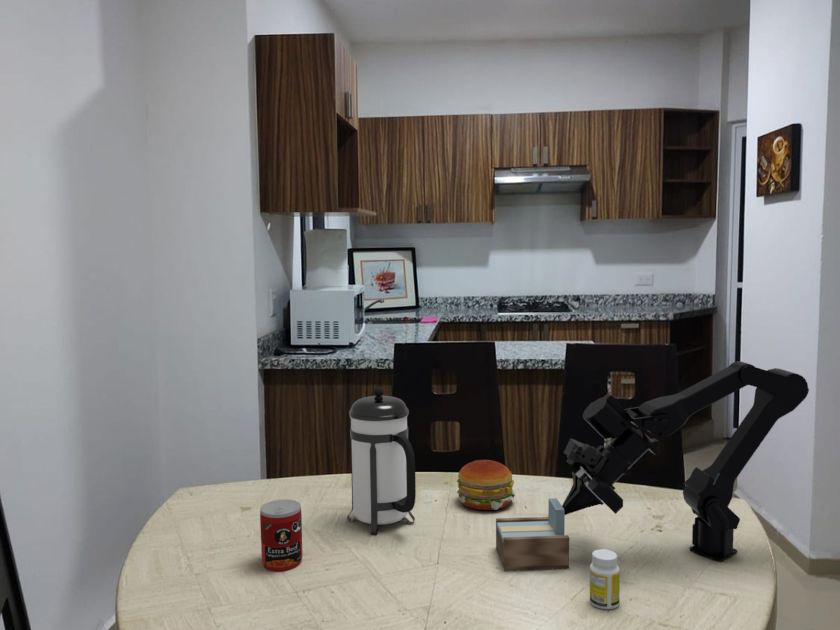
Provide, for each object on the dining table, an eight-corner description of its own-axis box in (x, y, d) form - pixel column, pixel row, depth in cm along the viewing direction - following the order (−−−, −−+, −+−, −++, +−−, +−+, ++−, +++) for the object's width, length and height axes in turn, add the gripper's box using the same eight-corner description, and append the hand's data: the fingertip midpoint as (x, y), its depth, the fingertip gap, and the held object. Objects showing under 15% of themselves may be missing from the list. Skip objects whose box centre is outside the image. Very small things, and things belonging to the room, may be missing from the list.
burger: (449, 496, 165) (449, 456, 164) (502, 490, 168) (502, 451, 167) (467, 517, 152) (467, 473, 151) (524, 510, 155) (524, 467, 154)
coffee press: (334, 534, 143) (331, 393, 140) (359, 506, 159) (356, 379, 156) (415, 542, 139) (413, 396, 136) (432, 512, 154) (431, 381, 152)
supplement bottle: (614, 595, 116) (614, 547, 116) (623, 609, 112) (624, 560, 111) (586, 596, 116) (586, 548, 116) (594, 610, 112) (594, 561, 111)
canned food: (262, 574, 126) (260, 516, 125) (260, 556, 133) (258, 501, 132) (304, 568, 128) (303, 511, 127) (300, 551, 135) (299, 497, 134)
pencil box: (556, 545, 136) (556, 516, 136) (569, 569, 126) (569, 537, 126) (496, 547, 136) (495, 518, 135) (504, 571, 126) (504, 539, 125)
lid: (555, 524, 134) (555, 496, 134) (565, 540, 127) (565, 511, 127) (496, 526, 134) (496, 498, 133) (503, 542, 127) (503, 513, 126)
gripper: (577, 414, 138) (522, 468, 139) (606, 439, 120) (543, 502, 120) (615, 451, 140) (560, 505, 140) (649, 482, 121) (587, 544, 121)
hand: (561, 512), depth 130 cm, fingers closed
